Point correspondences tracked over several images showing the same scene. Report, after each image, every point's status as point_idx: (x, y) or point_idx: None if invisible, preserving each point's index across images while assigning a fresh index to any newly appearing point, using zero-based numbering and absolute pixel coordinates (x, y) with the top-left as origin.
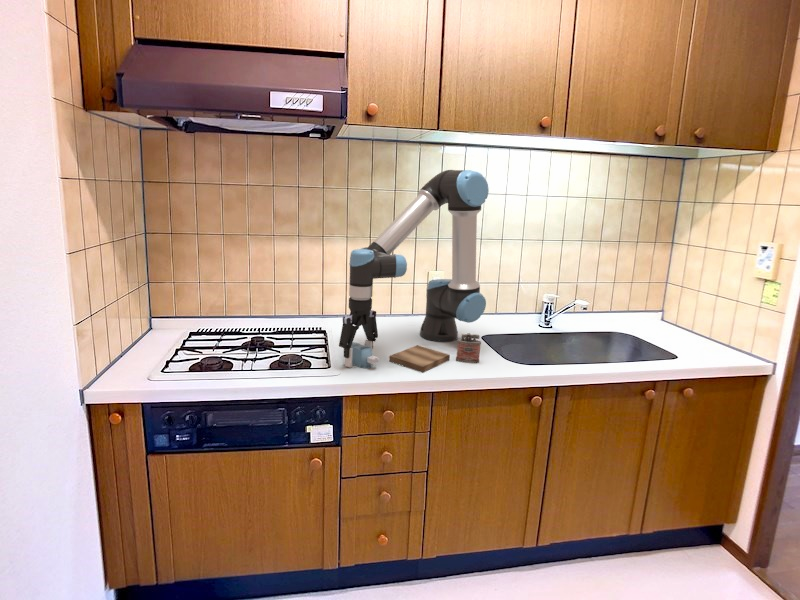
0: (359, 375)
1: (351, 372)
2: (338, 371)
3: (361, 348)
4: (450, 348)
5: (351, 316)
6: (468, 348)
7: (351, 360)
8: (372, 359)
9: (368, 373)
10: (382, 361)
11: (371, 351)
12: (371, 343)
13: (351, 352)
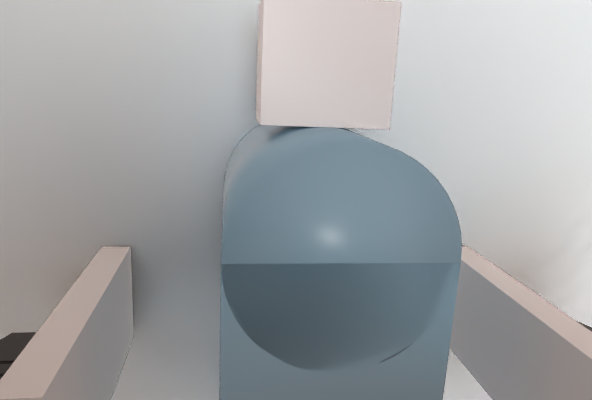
0: (555, 44)
1: (536, 164)
2: (585, 272)
3: (386, 325)
4: None
5: None
6: None
7: (498, 277)
8: (398, 12)
9: (452, 2)
10: (16, 126)
11: (292, 145)
12: (37, 375)
13: (577, 334)
